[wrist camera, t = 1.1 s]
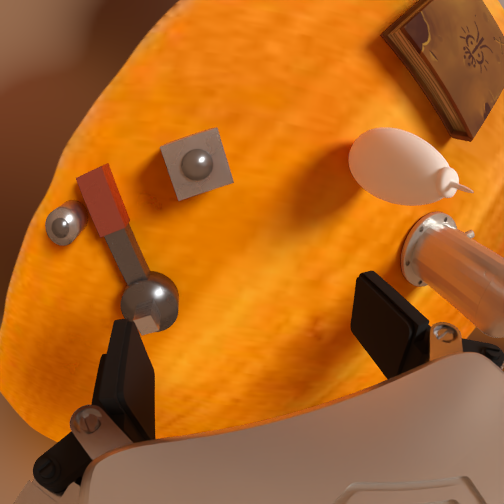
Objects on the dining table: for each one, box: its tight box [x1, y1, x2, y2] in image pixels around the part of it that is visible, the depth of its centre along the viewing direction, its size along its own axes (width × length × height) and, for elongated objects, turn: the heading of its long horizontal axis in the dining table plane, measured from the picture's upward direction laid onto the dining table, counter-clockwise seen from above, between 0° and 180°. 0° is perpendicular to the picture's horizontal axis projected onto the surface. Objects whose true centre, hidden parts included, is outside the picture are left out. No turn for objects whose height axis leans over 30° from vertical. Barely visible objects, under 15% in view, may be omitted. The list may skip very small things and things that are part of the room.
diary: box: [380, 0, 504, 142], centre depth 27 cm, size 23×19×6 cm
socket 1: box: [45, 200, 88, 245], centre depth 28 cm, size 4×4×4 cm
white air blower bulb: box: [348, 128, 474, 206], centre depth 25 cm, size 8×8×18 cm
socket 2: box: [160, 128, 234, 201], centre depth 28 cm, size 5×5×6 cm
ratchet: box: [76, 163, 179, 335], centre depth 30 cm, size 7×20×6 cm, turn 15°
